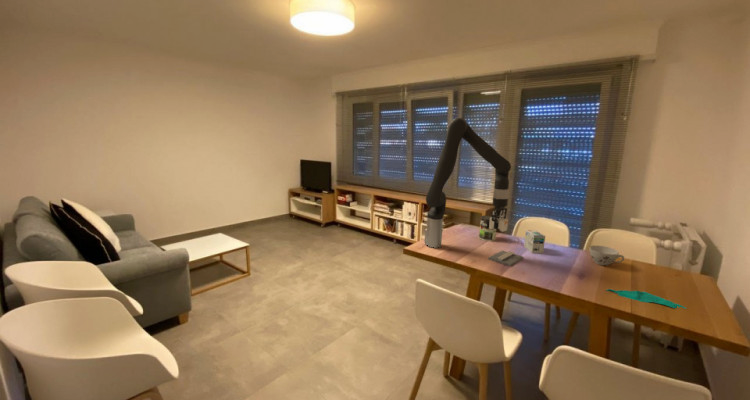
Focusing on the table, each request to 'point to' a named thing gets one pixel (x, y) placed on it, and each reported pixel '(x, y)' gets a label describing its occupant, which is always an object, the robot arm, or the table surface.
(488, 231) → the coffee can
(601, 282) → the table surface
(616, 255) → the teacup
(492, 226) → the block
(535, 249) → the light bulb box
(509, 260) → the mounting board
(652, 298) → the cloth
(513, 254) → the metal rail
